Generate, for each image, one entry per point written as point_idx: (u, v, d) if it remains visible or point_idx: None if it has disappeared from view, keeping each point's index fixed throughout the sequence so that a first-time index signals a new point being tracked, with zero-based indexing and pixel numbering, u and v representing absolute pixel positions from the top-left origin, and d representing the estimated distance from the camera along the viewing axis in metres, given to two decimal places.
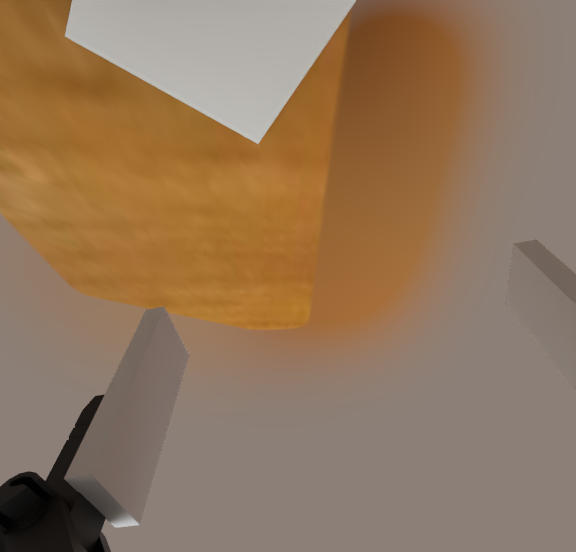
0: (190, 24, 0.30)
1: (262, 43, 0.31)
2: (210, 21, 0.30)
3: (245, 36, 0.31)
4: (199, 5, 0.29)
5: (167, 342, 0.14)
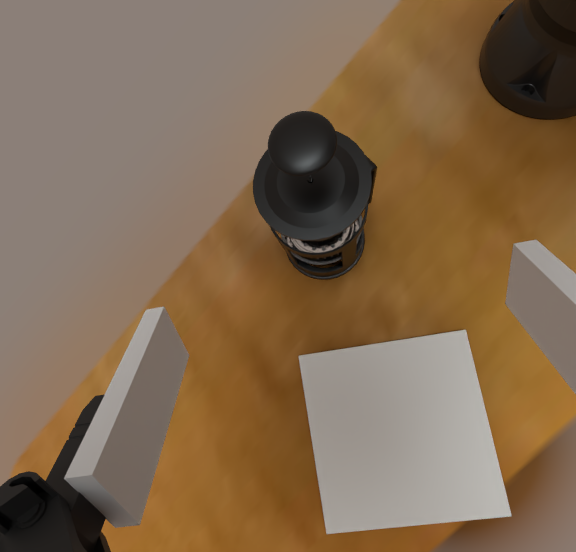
0: (368, 423, 0.40)
1: (398, 477, 0.38)
2: (381, 434, 0.39)
3: (392, 462, 0.39)
4: (384, 421, 0.39)
5: (167, 342, 0.14)
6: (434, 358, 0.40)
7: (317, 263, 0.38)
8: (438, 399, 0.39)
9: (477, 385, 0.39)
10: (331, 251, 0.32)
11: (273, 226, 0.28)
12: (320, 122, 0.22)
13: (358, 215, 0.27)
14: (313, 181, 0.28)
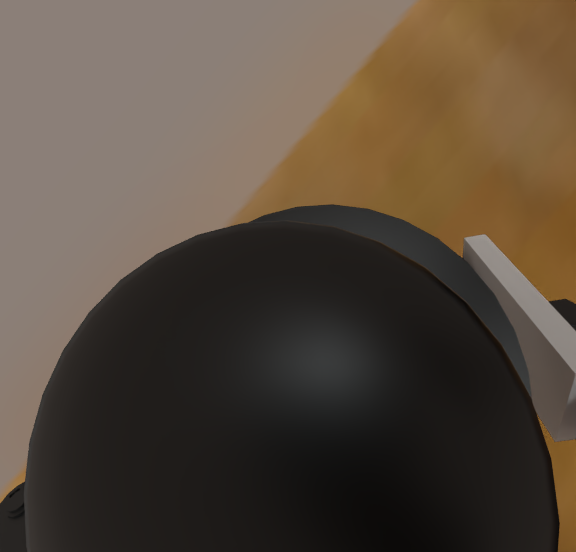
0: None
1: None
2: None
3: None
4: None
5: None
6: None
7: None
8: None
9: None
10: None
11: None
12: (408, 329, 0.03)
13: None
14: None
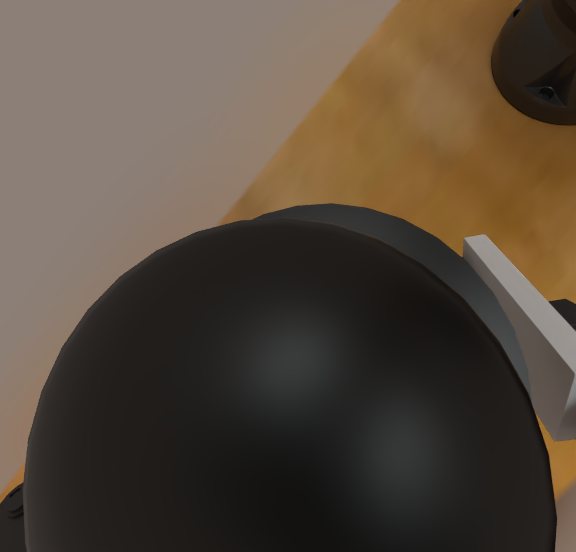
0: None
1: None
2: None
3: None
4: None
5: None
6: None
7: None
8: None
9: None
10: None
11: None
12: (406, 326, 0.03)
13: None
14: None
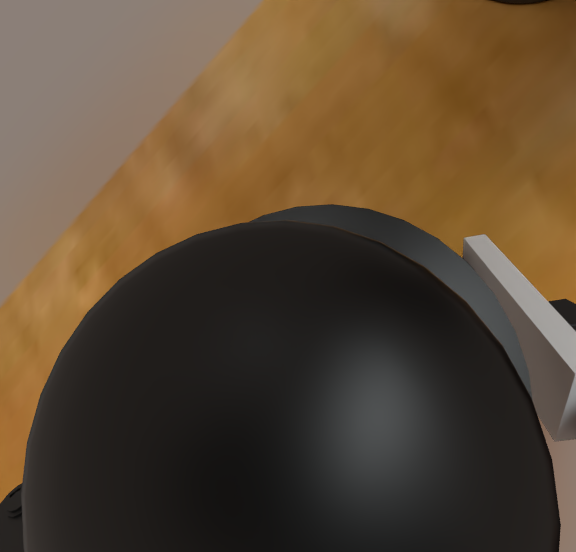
0: None
1: None
2: None
3: None
4: None
5: None
6: None
7: None
8: None
9: None
10: None
11: None
12: (409, 329, 0.03)
13: None
14: None
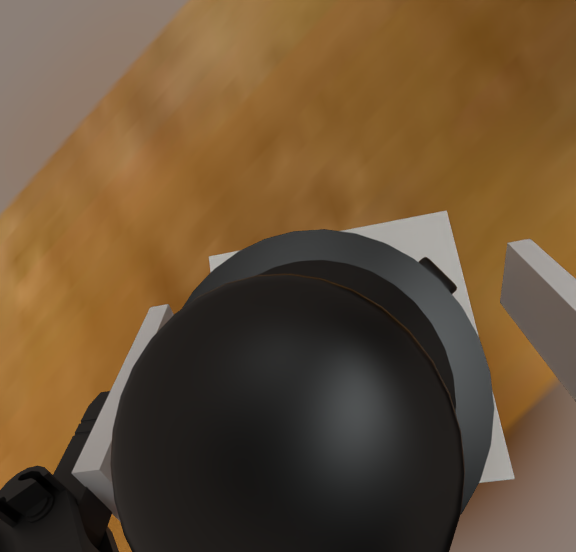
0: None
1: None
2: None
3: None
4: None
5: None
6: None
7: None
8: None
9: (462, 288, 0.26)
10: None
11: None
12: (369, 350, 0.04)
13: None
14: None
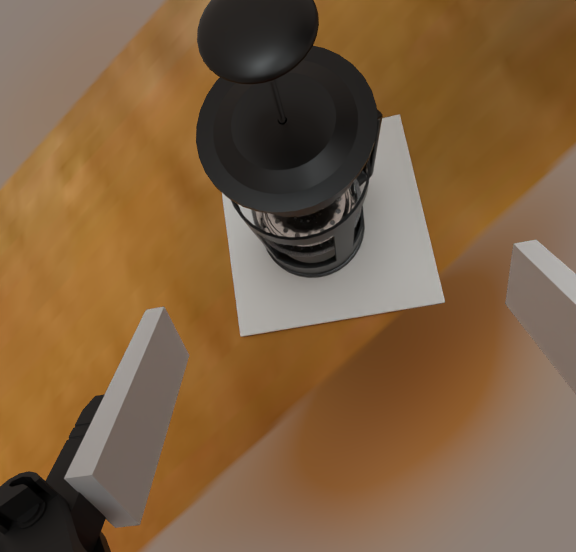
0: None
1: None
2: None
3: (315, 256, 0.34)
4: None
5: (167, 342, 0.14)
6: None
7: (301, 255, 0.28)
8: None
9: (410, 170, 0.34)
10: (318, 234, 0.22)
11: (226, 192, 0.18)
12: None
13: (357, 172, 0.17)
14: (287, 121, 0.18)
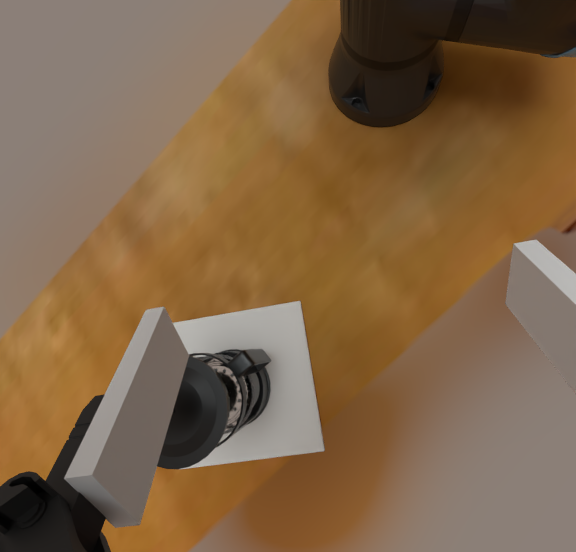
0: None
1: None
2: None
3: None
4: None
5: (167, 342, 0.14)
6: (273, 324, 0.48)
7: None
8: (274, 358, 0.47)
9: (305, 346, 0.47)
10: None
11: None
12: None
13: (214, 447, 0.30)
14: (175, 412, 0.30)
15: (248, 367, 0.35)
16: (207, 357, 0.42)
